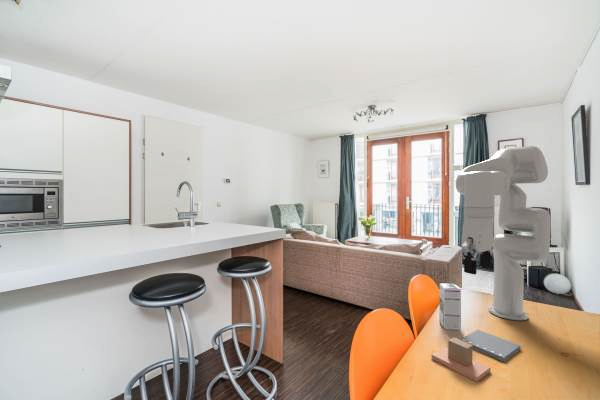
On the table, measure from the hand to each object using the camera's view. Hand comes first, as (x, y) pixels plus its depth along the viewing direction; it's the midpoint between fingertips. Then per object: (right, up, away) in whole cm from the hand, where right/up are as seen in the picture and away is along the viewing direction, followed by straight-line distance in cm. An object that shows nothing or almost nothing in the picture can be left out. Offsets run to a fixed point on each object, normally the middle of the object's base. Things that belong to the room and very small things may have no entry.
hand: (478, 270), depth 85 cm
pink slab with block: (-10, -24, -7) cm, 27 cm away
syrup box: (0, -24, +16) cm, 29 cm away
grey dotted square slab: (+5, -24, +3) cm, 25 cm away
